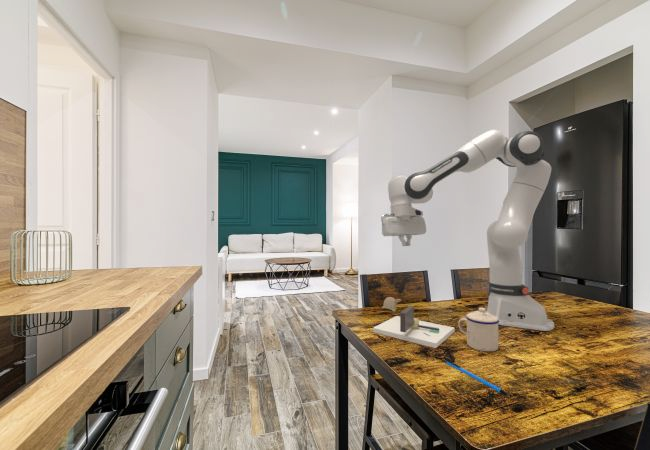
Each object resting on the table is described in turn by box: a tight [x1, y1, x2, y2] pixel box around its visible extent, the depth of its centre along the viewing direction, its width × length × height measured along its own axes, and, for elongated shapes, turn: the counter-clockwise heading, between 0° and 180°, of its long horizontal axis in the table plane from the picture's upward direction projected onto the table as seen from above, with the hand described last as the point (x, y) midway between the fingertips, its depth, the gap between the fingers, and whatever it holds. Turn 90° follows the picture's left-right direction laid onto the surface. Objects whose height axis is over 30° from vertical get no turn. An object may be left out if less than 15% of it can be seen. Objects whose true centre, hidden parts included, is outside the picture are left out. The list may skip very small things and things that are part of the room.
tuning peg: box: [399, 305, 439, 332], centre depth 101 cm, size 13×10×8 cm
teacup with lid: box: [458, 307, 499, 352], centre depth 96 cm, size 12×9×12 cm
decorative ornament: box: [381, 296, 402, 312], centre depth 136 cm, size 4×8×5 cm, turn 39°
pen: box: [441, 359, 509, 396], centre depth 76 cm, size 1×19×1 cm, turn 24°
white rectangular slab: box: [372, 315, 456, 349], centre depth 107 cm, size 22×18×2 cm
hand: (406, 246), depth 128 cm, fingers closed
